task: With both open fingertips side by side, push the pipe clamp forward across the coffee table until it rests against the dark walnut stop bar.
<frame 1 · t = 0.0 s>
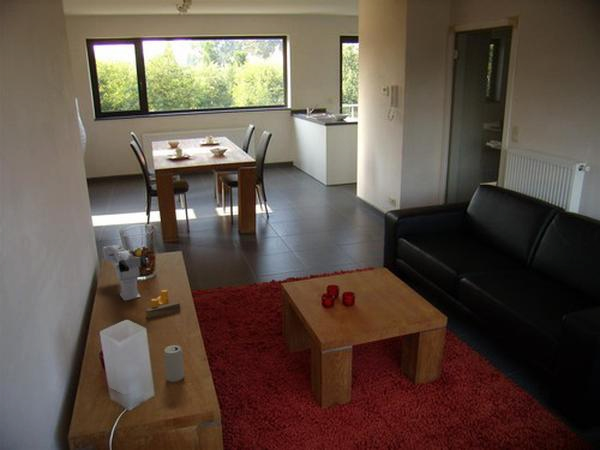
hand: (136, 267, 227), 22 cm above the table, tool horizontal, fingers open, 7 cm apart
beverage can: (175, 378, 181), on the table
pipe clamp: (158, 307, 237), on the table
stop bar: (163, 313, 231), on the table
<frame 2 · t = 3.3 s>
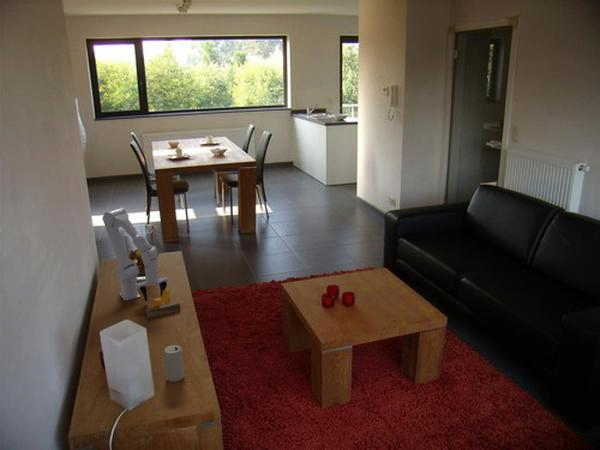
hand: (154, 298, 242), 2 cm above the table, tool pointing down, fingers open, 7 cm apart
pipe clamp: (160, 307, 237), on the table, touching gripper
everything else where it was.
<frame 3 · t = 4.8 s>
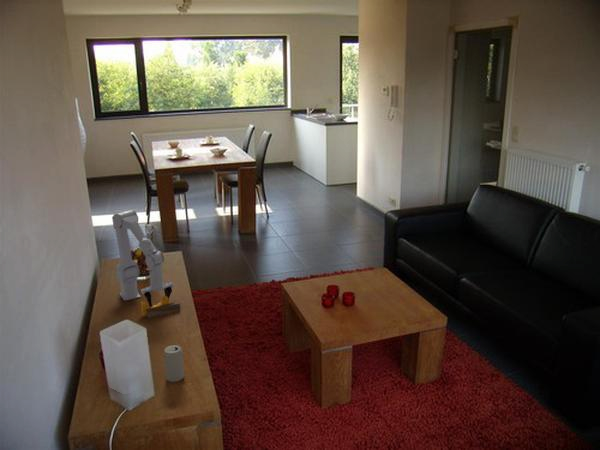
hand: (158, 304, 236), 2 cm above the table, tool pointing down, fingers open, 7 cm apart
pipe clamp: (155, 312, 232), on the table, touching gripper, stop bar
everything else where it was.
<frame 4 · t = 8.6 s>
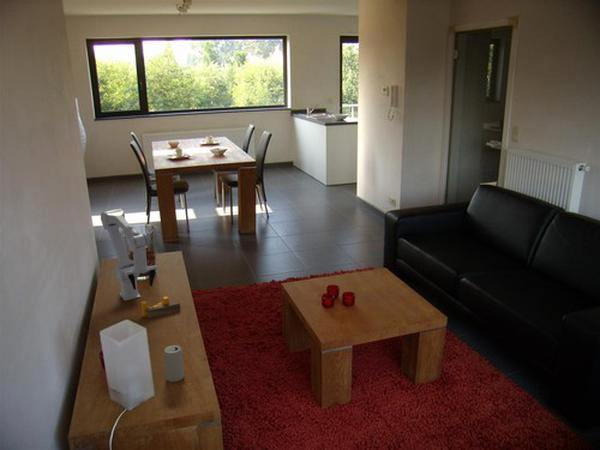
hand: (142, 287, 236), 9 cm above the table, tool pointing down, fingers open, 7 cm apart
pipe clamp: (155, 312, 232), on the table
everything else where it was.
at the end: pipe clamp inside the target area (2.9 cm from its centre), on the table; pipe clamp tilted 0° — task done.
